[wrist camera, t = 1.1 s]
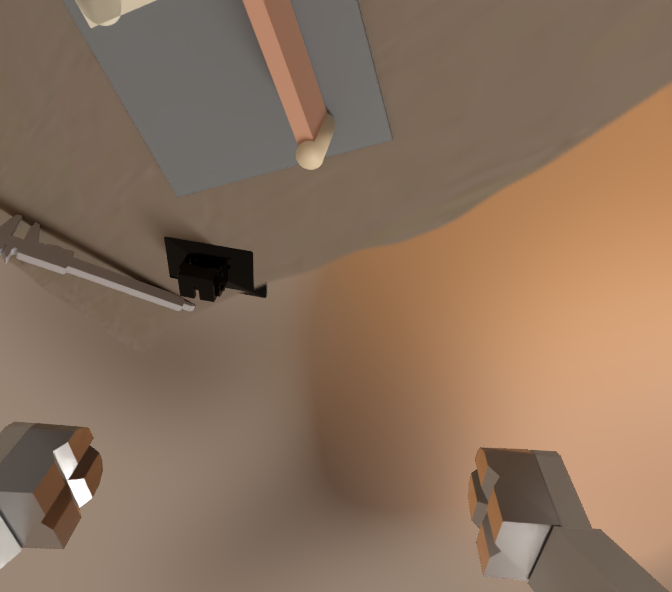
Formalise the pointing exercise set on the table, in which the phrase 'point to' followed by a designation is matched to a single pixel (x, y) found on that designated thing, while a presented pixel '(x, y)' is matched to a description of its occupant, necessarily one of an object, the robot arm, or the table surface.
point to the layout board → (228, 83)
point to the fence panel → (293, 78)
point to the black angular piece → (210, 269)
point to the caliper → (78, 265)
